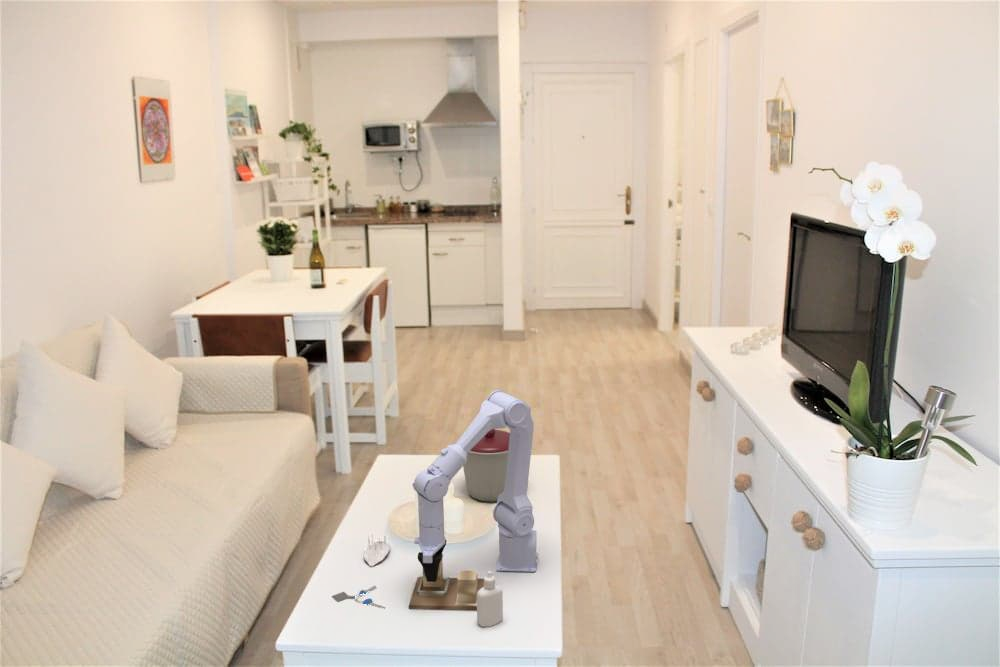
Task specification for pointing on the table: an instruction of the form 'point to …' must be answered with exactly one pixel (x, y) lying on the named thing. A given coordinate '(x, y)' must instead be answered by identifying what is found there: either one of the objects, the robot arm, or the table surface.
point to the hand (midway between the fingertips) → (433, 575)
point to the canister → (487, 466)
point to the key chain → (344, 596)
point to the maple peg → (439, 578)
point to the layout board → (448, 593)
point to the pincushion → (376, 551)
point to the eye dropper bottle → (489, 603)
